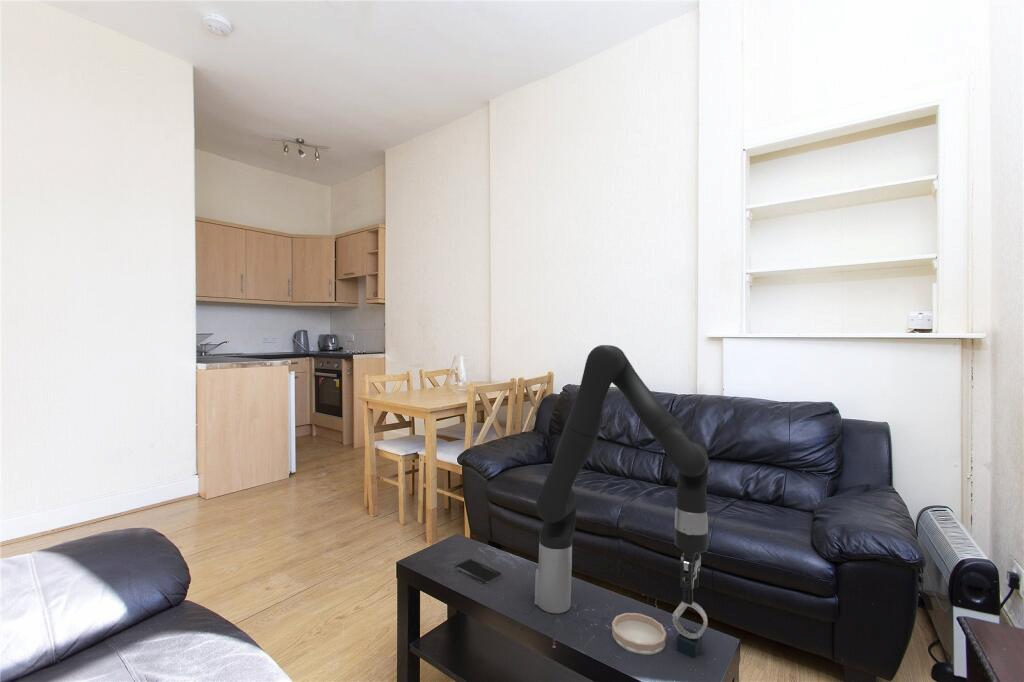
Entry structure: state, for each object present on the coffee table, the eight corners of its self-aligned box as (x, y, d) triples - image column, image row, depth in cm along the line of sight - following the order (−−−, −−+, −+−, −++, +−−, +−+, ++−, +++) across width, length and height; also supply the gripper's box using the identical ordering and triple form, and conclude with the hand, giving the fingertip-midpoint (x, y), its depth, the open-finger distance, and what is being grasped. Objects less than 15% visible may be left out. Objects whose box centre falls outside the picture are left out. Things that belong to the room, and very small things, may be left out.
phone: (486, 583, 135) (453, 566, 145) (485, 587, 135) (453, 569, 145) (503, 574, 140) (471, 558, 150) (503, 577, 140) (471, 561, 150)
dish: (605, 642, 110) (605, 632, 110) (621, 616, 121) (621, 607, 121) (658, 661, 103) (659, 651, 103) (670, 632, 114) (670, 623, 114)
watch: (675, 636, 113) (676, 592, 113) (709, 650, 108) (710, 604, 108) (668, 647, 109) (669, 601, 109) (703, 662, 104) (704, 614, 104)
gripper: (680, 515, 117) (679, 578, 117) (669, 533, 105) (668, 604, 104) (711, 521, 113) (711, 586, 113) (703, 541, 101) (703, 614, 100)
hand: (690, 594), depth 109 cm, fingers open, 8 cm apart
